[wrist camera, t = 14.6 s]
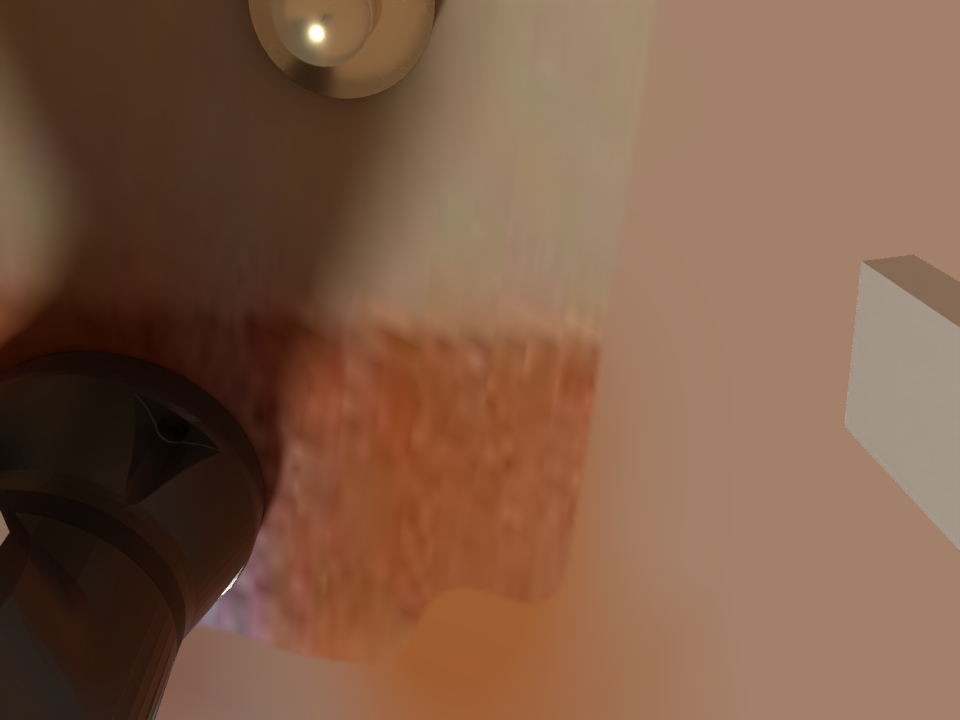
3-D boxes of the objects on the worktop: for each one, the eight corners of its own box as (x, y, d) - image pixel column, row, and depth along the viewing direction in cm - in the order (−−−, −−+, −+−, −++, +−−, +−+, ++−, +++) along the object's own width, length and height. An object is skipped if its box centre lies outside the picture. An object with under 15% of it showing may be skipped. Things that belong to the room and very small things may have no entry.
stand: (269, 96, 35) (226, 135, 27) (241, -98, 31) (185, -111, 24) (439, 88, 35) (441, 126, 28) (429, -105, 32) (428, -119, 24)
